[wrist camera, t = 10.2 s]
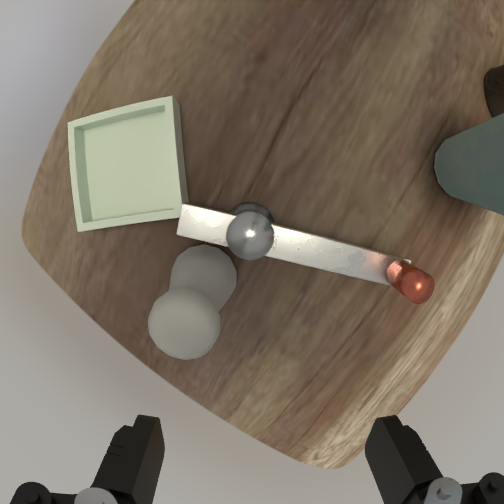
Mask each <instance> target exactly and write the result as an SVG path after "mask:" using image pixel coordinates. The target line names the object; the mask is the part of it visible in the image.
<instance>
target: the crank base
mask: <svg viewBox="0 0 504 504" xmlns="http://www.w3.org/2000/svg"><path fill="white" fill-rule="evenodd" d="M245 209H255V210H258V211H260V212H262V213H263V214H264V215H265V216H266V217H267V218H268V220H269V221H270V222H271V223H275V222H274V219H273V217H272V216H271V214H270V213H269V212H268V210H267V209H266V208H264V207H263V206H261V205H259V204H257V203H251V202H247V203H242V204H240V205H238V206H236V207H235V208H233V209H232V210H231V212H230V213H234V214H237V213H238V212H240V211H242V210H245Z"/></svg>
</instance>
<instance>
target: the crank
mask: <svg viewBox="0 0 504 504" xmlns="http://www.w3.org/2000/svg"><path fill="white" fill-rule="evenodd" d="M176 235H180V236H185V237H189V238H193V239H197V240H201V241H206V242H210V243H214V244H218V245H222V246H227V247H229V248H230V250H231V251H232V252H233V253H234V254H235V255H236V256H238V257H239V258H242V259H245V260H255V259H259V258H261V257H263V256H269V257H273V258H277V259H281V260H285V261H289V262H294V263H298V264H302V265H306V266H310V267H315V268H319V269H323V270H327V271H331V272H336V273H340V274H344V275H348V276H352V277H357V278H361V279H365V280H369V281H373V282H378V283H382V284H386V285H390V286H393V287H394V288H395V289H397V290H398V291H399V292H401V293H402V294H403V295H404V296H406V297H407V298H408V299H409V300H411V301H412V302H413V303H415V304H421V303H424V302H426V301H427V300H428V299H429V298H430V297H431V295H432V293H433V291H434V280H433V278H432V276H431V275H429V274H427V273H426V272H424V271H422V270H420V269H418V268H417V267H415V266H413V265H411V264H410V262H409V261H407V260H405V259H403V258H401V257H398V256H394V255H391V254H387V253H384V252H380V251H377V250H373V249H370V248H366V247H362V246H359V245H355V244H351V243H348V242H344V241H340V240H337V239H333V238H329V237H326V236H322V235H318V234H314V233H310V232H307V231H303V230H299V229H295V228H291V227H287V226H283V225H279V224H275V223H271V222H270V221H269V220H268V218H267V217H266V216H265V215H264V214H263V213H262V212H260V211H258V210H255V209H245V210H242V211H240V212H238V213H237V214H234V213H230V212H226V211H222V210H218V209H213V208H209V207H205V206H200V205H196V204H192V203H184V204H183V205H182V210H181V215H180V219H179V224H178V229H177V234H176Z"/></svg>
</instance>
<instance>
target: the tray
mask: <svg viewBox="0 0 504 504" xmlns="http://www.w3.org/2000/svg"><path fill="white" fill-rule="evenodd" d="M68 142H69V159H70V172H71V183H72V193H73V201H74V209H75V216H76V223H77V229H78V232H80V231H86V230H93V229H99V228H106V227H112V226H119V225H126V224H133V223H140V222H148V221H155V220H163V219H171V218H179V217H180V215H181V210H182V205H183V204H184V203H189V200H188V192H187V182H186V173H185V163H184V153H183V142H182V130H181V118H180V104H179V103H178V102H177V101H176V100H175V98H174V97H173V96H168V97H163V98H158V99H153V100H149V101H144V102H140V103H135V104H131V105H127V106H123V107H119V108H115V109H111V110H108V111H104V112H100V113H97V114H94V115H90V116H87V117H84V118H80V119H77V120H74V121H71V122H68Z"/></svg>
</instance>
